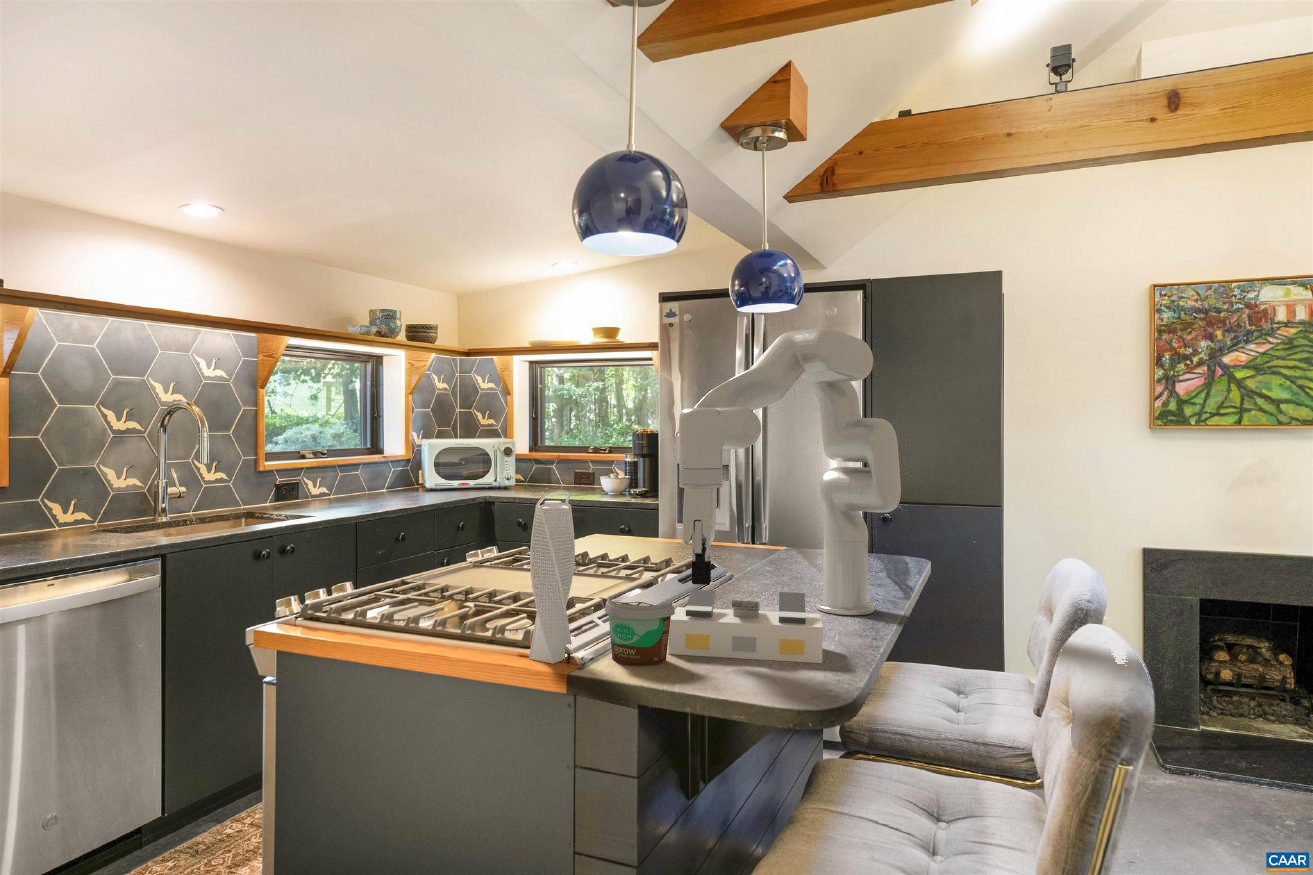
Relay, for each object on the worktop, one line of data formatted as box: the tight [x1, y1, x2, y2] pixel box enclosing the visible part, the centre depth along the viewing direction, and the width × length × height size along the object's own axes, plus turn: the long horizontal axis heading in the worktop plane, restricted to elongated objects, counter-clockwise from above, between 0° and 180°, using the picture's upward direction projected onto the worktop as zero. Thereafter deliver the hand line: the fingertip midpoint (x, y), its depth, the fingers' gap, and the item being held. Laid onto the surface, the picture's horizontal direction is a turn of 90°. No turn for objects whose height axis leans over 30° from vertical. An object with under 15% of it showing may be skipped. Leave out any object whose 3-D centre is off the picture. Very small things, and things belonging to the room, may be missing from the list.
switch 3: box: [778, 591, 807, 624], centre depth 132 cm, size 8×4×1 cm, turn 170°
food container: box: [604, 596, 675, 667], centre depth 125 cm, size 12×6×10 cm, turn 70°
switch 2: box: [731, 599, 761, 611], centre depth 133 cm, size 8×4×1 cm, turn 171°
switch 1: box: [685, 589, 717, 618], centre depth 135 cm, size 8×4×1 cm, turn 170°
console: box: [668, 606, 824, 664], centre depth 133 cm, size 10×26×7 cm, turn 80°
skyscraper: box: [528, 490, 576, 665], centre depth 128 cm, size 8×8×28 cm
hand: (701, 583), depth 132 cm, fingers closed
